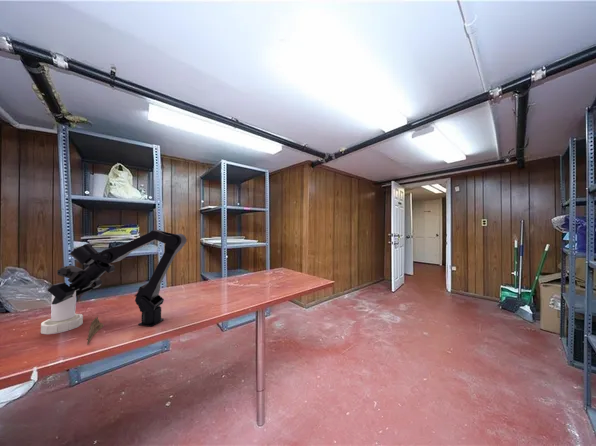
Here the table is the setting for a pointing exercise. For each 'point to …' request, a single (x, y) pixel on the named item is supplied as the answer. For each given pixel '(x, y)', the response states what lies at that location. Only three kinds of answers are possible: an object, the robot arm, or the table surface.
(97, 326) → the brown curved piece
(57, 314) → the white rounded block
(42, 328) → the bowl
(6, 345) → the table surface
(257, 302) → the table surface
